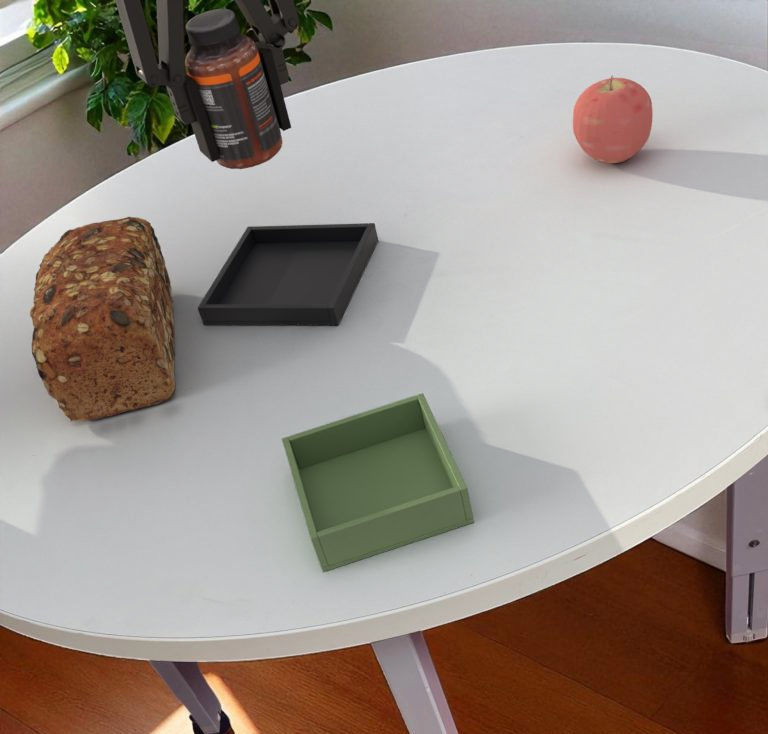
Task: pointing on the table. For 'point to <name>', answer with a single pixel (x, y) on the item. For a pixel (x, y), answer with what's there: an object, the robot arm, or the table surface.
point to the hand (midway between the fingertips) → (245, 138)
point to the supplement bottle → (232, 90)
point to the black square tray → (290, 275)
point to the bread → (104, 320)
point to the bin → (376, 482)
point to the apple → (613, 119)
